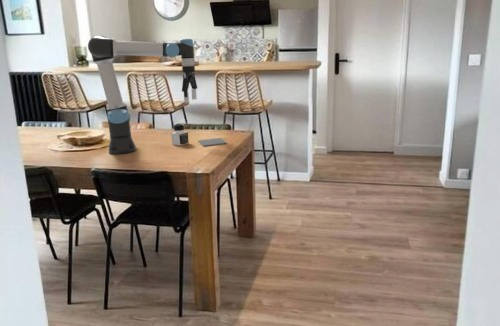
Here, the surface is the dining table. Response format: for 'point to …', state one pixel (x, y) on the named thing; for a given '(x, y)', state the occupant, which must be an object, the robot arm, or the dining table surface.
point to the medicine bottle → (179, 135)
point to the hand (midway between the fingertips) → (190, 101)
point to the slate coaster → (212, 142)
